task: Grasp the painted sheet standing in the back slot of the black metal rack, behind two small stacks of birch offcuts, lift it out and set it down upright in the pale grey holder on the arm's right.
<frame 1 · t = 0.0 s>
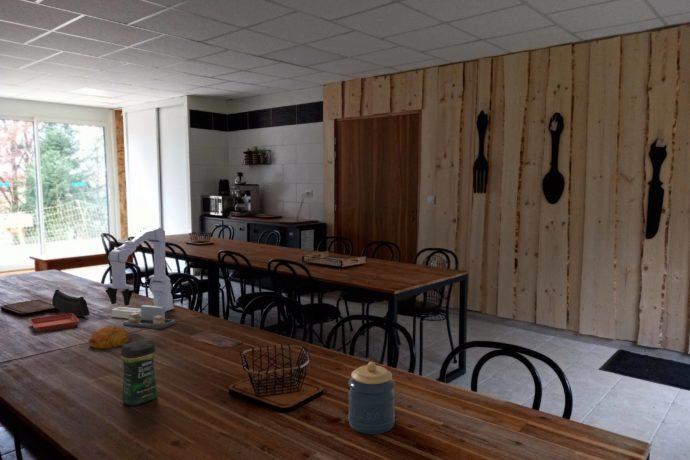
hand: (120, 304, 230), 10 cm above the table, tool pointing down, fingers open, 7 cm apart
birch offcut stack 2: (134, 324, 233), resting in rack
coffee jar: (140, 400, 153), on the table
plant saucer: (54, 326, 231), on the table
wooden tablet: (214, 341, 210), on the table
magazine: (71, 313, 252), on the table
canister: (371, 424, 138), on the table
holder: (128, 316, 246), on the table
birch offcut 1: (159, 327, 229), resting in rack
birch offcut 2: (158, 321, 229), point 2 cm above the table
rack: (149, 324, 233), on the table
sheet: (153, 322, 235), resting in rack
croissant: (109, 344, 206), on the table
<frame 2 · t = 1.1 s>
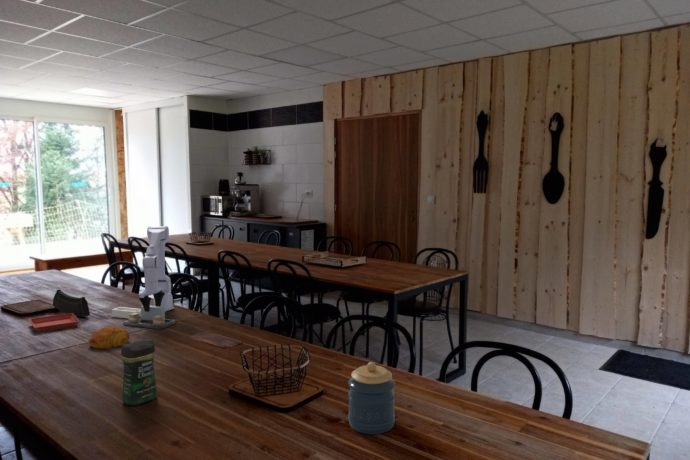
hand: (152, 309, 235), 6 cm above the table, tool pointing down, fingers open, 7 cm apart
birch offcut 1: (159, 327, 229), resting in rack, touching birch offcut 2
birch offcut 2: (158, 321, 229), point 2 cm above the table, touching birch offcut 1
everything else where it was.
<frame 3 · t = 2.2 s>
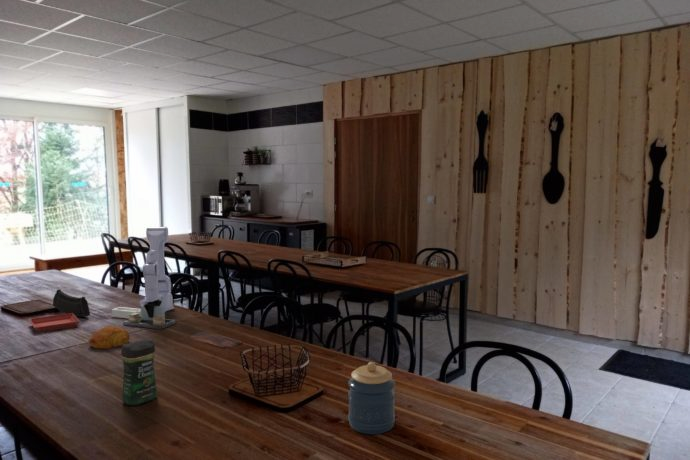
hand: (152, 316, 235), 3 cm above the table, tool pointing down, fingers closed on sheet, 2 cm apart
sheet: (153, 322, 235), resting in rack, touching gripper
everything else where it was.
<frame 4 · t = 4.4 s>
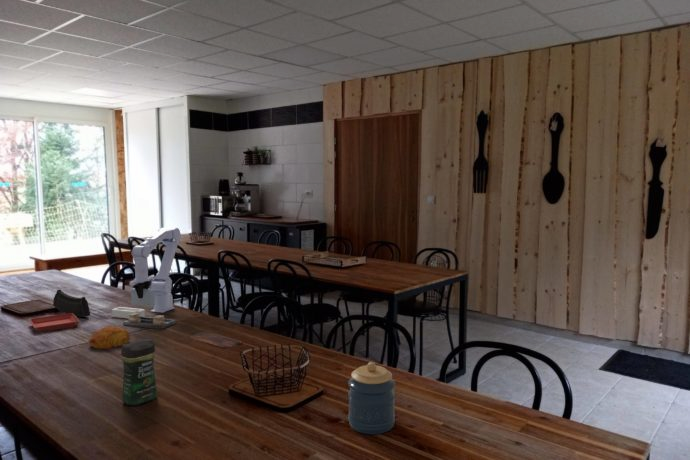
hand: (142, 297, 242), 10 cm above the table, tool pointing down, fingers closed on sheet, 2 cm apart
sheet: (143, 305, 242), point 7 cm above the table, touching gripper
everything else where it was.
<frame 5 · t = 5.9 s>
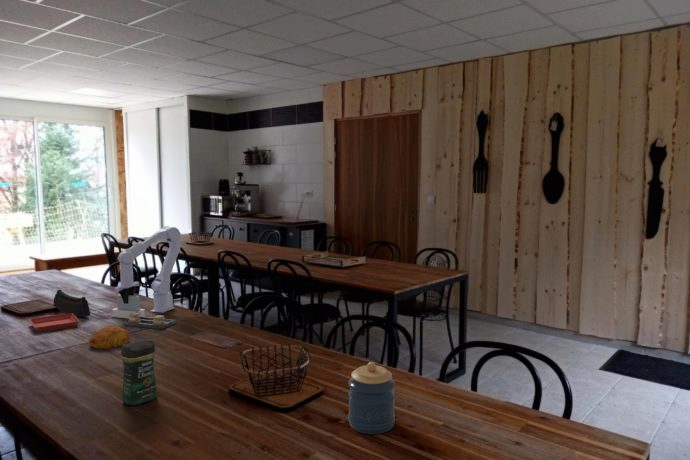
hand: (127, 302, 245), 7 cm above the table, tool pointing down, fingers closed on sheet, 2 cm apart
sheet: (128, 311, 246), point 3 cm above the table, touching gripper
everything else where it was.
when the fingers open (5 cm above the table, at t = 6.6 s): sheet stays where it is, resting on holder.
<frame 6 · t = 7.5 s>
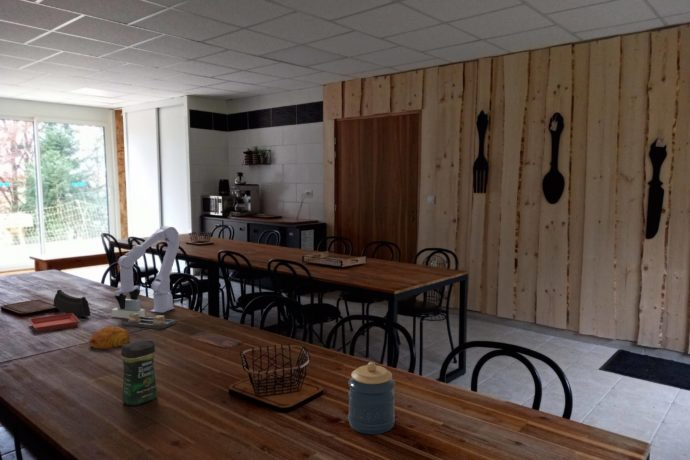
hand: (128, 306, 246), 5 cm above the table, tool pointing down, fingers open, 7 cm apart
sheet: (129, 315, 246), point 1 cm above the table, touching holder
everything else where it was.
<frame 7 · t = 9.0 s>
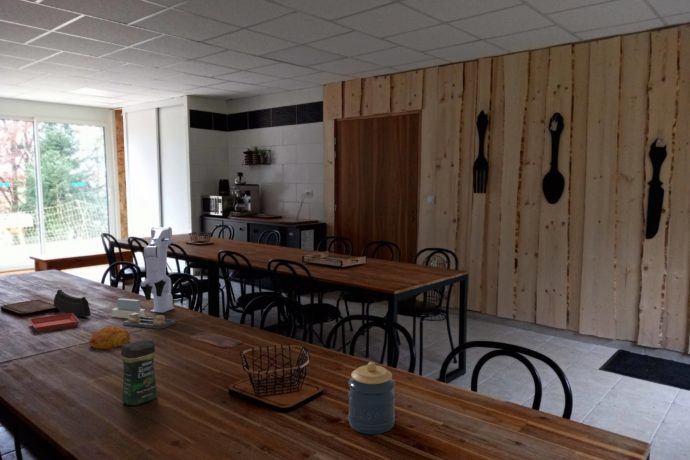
hand: (153, 298, 241), 10 cm above the table, tool pointing down, fingers open, 7 cm apart
nothing on the table moved.
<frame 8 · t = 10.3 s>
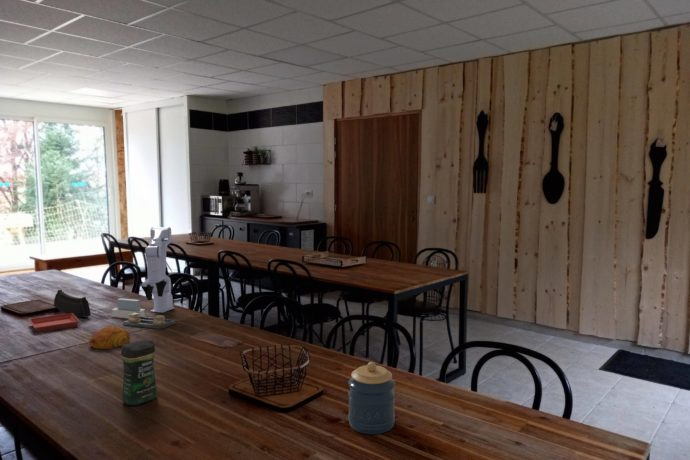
hand: (154, 298, 240), 10 cm above the table, tool pointing down, fingers open, 7 cm apart
nothing on the table moved.
at the end: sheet inside the target area on the holder (0.4 cm from its centre), point 0.6 cm above the holder's base; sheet tilted 0°; the gripper is holding nothing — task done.
